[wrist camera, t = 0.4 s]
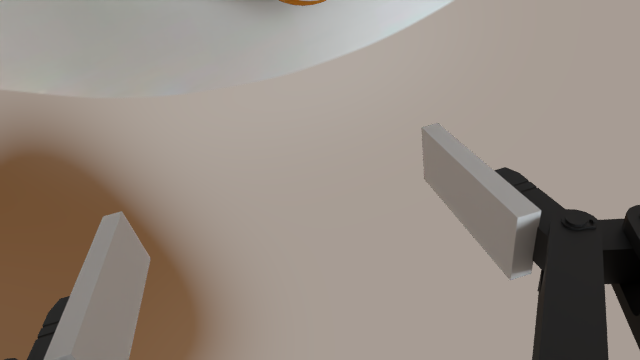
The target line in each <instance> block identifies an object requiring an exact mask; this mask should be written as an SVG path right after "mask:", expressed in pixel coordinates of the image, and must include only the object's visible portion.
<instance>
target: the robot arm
mask: <svg viewBox="0 0 640 360" xmlns="http://www.w3.org/2000/svg"><path fill="white" fill-rule="evenodd" d="M422 146H423V166H424V179H425V180H426V182H427V183H428V184H429V185H430V186H431V188H432V189H433V190H434V191H435V192H436V193H437V194H438V196H439V197H440V198H441V199H442V200H443V201H444V203H445V204H446V205H447V206H448V208H449V209H450V210H451V211H452V212H453V213H454V215H455V216H456V217H457V218H458V219H459V221H460V222H461V223H462V224H463V225H464V226H465V228H466V229H467V230H468V231H469V232H470V234H471V235H472V236H473V237H474V238H475V239H476V240H477V242H478V243H479V244H480V245H481V246H482V248H483V249H484V250H485V251H486V252H487V254H488V255H489V256H490V257H491V258H492V259H493V260H494V262H495V263H496V264H497V265H498V267H499V268H500V269H501V270H502V271H503V272H504V274H505V275H506V276H507V277H508V278H509V279H510V280H513V279H516V278H519V277H522V276H525V275H528V274H531V271H532V265H533V261H534V262H535V263H536V264H537V265H538V266H539V267H540V268H541V269H542V270H541V275H540V281H539V287H538V291H539V295H538V306H537V316H536V326H535V336H534V346H533V357H532V360H608V345H607V344H608V343H607V324H606V306H605V286H604V284H611V285H612V287H613V289H614V291H615V294H616V296H617V298H618V301H619V303H620V305H621V308H622V310H623V312H624V315H625V317H626V319H627V321H628V324H629V326H630V328H631V331H632V333H633V335H634V338H635V340H636V342H637V345H638V347H639V349H640V205H636V206H634V207H631V208H630V209H629V210H628V211H627V213H626V216H625V219H611V220H610V219H609V220H597V219H596V218H595V217H594V216H592V215H590V214H588V213H586V212H583V211H579V210H569V209H568V210H567V209H564V208H563V207H562V206H561V205H559V204H558V203H557V202H555V201H554V200H553V199H551V198H550V197H549V196H548V195H547V194H545V193H544V192H543V191H541V190H540V189H539V188H536V186H535V185H534V184H533V183H531V182H529V181H528V180H527V179H526V178H525V177H524V176H522V175H521V174H520V173H518V172H516V171H513V170H511V169H508V168H501V169H498V170H493V169H492V168H491V167H489V166H488V165H487V164H486V163H485V162H484V161H482V160H481V159H480V158H479V157H478V156H476V155H475V154H474V153H473V152H472V151H471V150H469V149H468V148H467V147H466V146H465V145H463V144H462V143H461V142H460V141H459V140H458V139H456V138H455V137H454V136H453V135H452V134H451V133H449V132H448V131H447V130H446V129H445V128H443V127H442V126H441V125H440V124H439V123H436V124H432V125H428V126H425V127H422ZM149 263H150V257H149V255H148V253H147V252H146V250H145V248H144V247H143V245H142V244H141V242H140V240H139V239H138V237H137V236H136V234H135V232H134V230H133V229H132V227H131V226H130V224H129V222H128V221H127V219H126V217H125V216H124V214H123V212H118V213H115V214H111V215H107V216H104V217H103V218H102V221H101V223H100V226H99V228H98V230H97V233H96V235H95V238H94V240H93V243H92V245H91V247H90V250H89V252H88V254H87V257H86V259H85V261H84V264H83V266H82V269H81V271H80V273H79V276H78V279H77V281H76V283H75V286H74V288H73V290H72V293H71V295H70V296H68V297H65V298H61V299H59V301H58V302H57V303H56V304H55V305H54V307H53V308H52V309H51V310H50V311H49V313H48V315H47V317H46V319H45V321H44V324H43V328H42V329H41V330H40V332H39V334H38V339H37V340H36V341H35V343H34V345H33V348H32V350H31V352H30V354H29V356H28V359H27V360H129V356H130V351H131V347H132V342H133V337H134V333H135V328H136V323H137V319H138V314H139V309H140V305H141V300H142V296H143V291H144V286H145V282H146V277H147V272H148V267H149ZM5 360H17V359H15V358H10V359H5Z"/></svg>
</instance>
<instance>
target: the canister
mask: <svg viewBox="0 0 640 360" xmlns="http://www.w3.org/2000/svg"><path fill="white" fill-rule="evenodd" d="M279 1H282V2H284V3H288V4H292V5H301V6H305V5H314V4H317V3H321V2H324V1H326V0H279Z"/></svg>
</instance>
